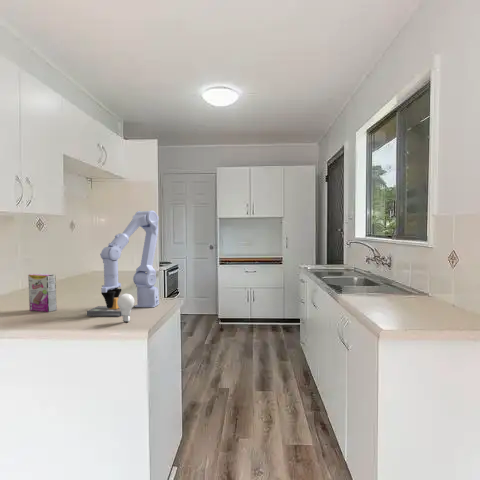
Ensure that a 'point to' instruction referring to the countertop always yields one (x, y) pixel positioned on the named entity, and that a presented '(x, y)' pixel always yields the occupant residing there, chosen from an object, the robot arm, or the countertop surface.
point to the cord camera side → (105, 315)
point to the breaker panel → (104, 311)
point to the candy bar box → (42, 292)
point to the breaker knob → (115, 303)
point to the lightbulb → (126, 305)
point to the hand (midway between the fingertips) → (112, 306)
